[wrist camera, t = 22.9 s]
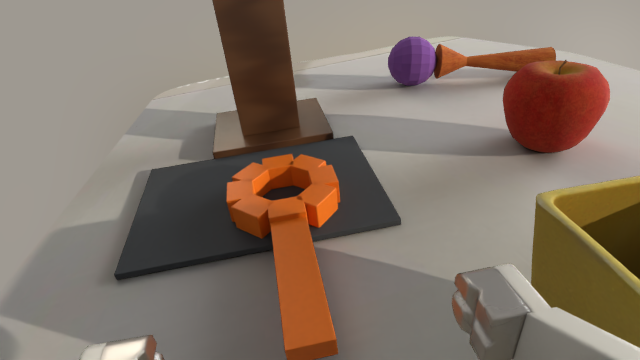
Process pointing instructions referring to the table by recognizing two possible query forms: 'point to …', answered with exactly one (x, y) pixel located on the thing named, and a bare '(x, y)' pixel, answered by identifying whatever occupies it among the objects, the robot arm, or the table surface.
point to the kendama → (452, 60)
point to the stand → (262, 83)
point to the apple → (554, 104)
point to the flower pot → (591, 254)
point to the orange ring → (292, 242)
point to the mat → (214, 217)
